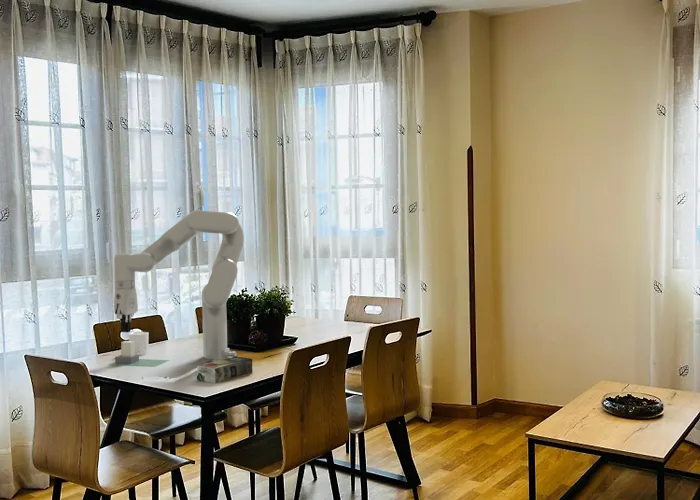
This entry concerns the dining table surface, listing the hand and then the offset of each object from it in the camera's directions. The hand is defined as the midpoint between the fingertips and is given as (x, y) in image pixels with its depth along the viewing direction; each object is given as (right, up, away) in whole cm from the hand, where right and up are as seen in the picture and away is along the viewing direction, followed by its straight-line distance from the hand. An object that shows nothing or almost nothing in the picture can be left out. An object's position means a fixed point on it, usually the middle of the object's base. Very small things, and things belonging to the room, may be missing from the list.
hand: (125, 331), depth 273 cm
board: (+5, -13, 0) cm, 14 cm away
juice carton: (+42, -15, -19) cm, 49 cm away
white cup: (0, -13, +17) cm, 21 cm away
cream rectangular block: (+1, -12, +1) cm, 12 cm away
